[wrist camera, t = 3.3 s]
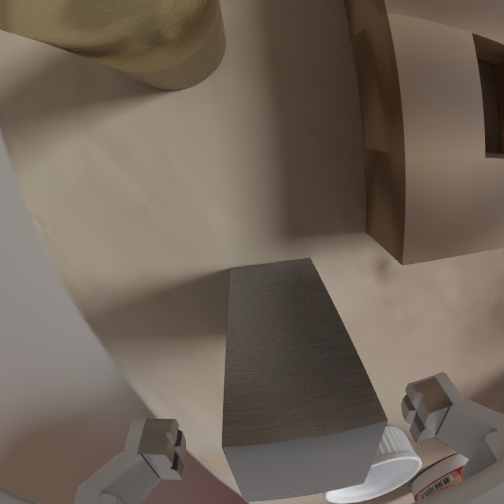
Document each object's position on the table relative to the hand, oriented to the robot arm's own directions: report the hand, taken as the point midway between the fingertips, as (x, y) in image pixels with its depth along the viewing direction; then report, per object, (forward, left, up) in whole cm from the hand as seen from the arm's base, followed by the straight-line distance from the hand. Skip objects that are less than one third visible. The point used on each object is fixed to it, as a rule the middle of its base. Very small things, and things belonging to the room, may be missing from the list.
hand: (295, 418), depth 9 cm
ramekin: (+18, +7, -8) cm, 21 cm away
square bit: (0, 0, -8) cm, 8 cm away
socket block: (-10, +12, -8) cm, 18 cm away
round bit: (-13, -3, -8) cm, 16 cm away
